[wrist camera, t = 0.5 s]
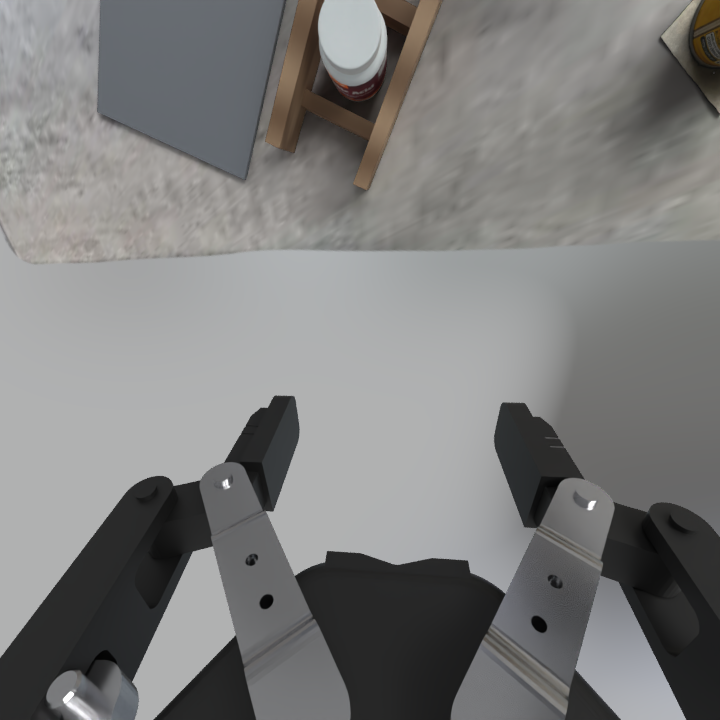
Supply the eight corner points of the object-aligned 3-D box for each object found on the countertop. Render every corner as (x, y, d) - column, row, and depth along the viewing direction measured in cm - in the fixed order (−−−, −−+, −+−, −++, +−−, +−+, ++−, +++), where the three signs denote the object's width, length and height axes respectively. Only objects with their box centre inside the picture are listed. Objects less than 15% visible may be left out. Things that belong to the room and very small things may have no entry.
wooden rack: (345, -96, 24) (335, -158, 20) (454, -31, 25) (469, -76, 21) (282, 147, 31) (265, 141, 27) (369, 189, 33) (366, 190, 28)
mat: (108, -103, 25) (103, -108, 24) (287, -6, 27) (285, -9, 26) (101, 113, 31) (97, 111, 31) (246, 179, 33) (244, 179, 32)
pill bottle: (328, 98, 29) (308, 70, 22) (334, 25, 27) (314, -33, 20) (381, 107, 29) (379, 82, 22) (392, 35, 27) (393, -19, 20)
